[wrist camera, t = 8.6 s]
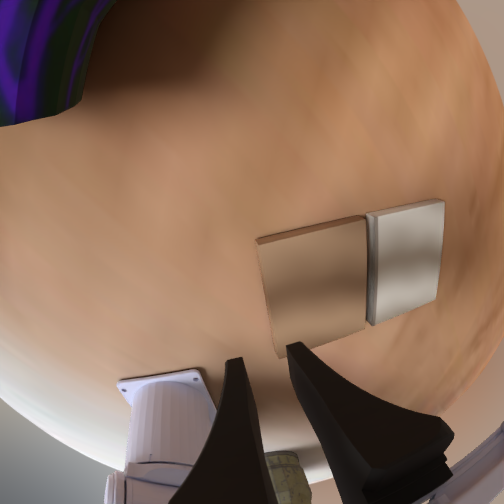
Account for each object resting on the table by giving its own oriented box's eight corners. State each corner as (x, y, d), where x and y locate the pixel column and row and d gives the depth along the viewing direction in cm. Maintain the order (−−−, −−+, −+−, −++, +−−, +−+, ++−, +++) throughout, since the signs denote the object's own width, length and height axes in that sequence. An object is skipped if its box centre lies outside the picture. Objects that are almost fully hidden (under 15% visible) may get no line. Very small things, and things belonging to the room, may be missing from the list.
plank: (358, 321, 24) (364, 329, 23) (274, 350, 23) (278, 359, 22) (357, 215, 20) (365, 219, 19) (254, 239, 19) (258, 245, 18)
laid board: (428, 293, 25) (435, 299, 24) (365, 319, 24) (372, 326, 23) (435, 198, 21) (444, 201, 20) (366, 213, 20) (374, 217, 19)
